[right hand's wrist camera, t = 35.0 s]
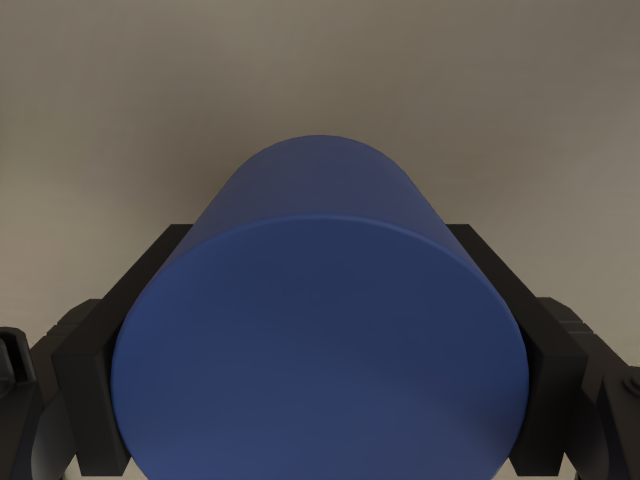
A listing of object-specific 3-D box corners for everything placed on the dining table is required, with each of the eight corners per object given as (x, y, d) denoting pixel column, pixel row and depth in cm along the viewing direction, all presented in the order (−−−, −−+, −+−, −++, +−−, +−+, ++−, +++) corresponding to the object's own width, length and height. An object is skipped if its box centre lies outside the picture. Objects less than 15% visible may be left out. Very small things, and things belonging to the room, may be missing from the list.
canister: (385, 358, 17) (435, 582, 10) (191, 309, 16) (86, 511, 9) (464, 173, 14) (613, 286, 7) (237, 104, 14) (141, 151, 6)
